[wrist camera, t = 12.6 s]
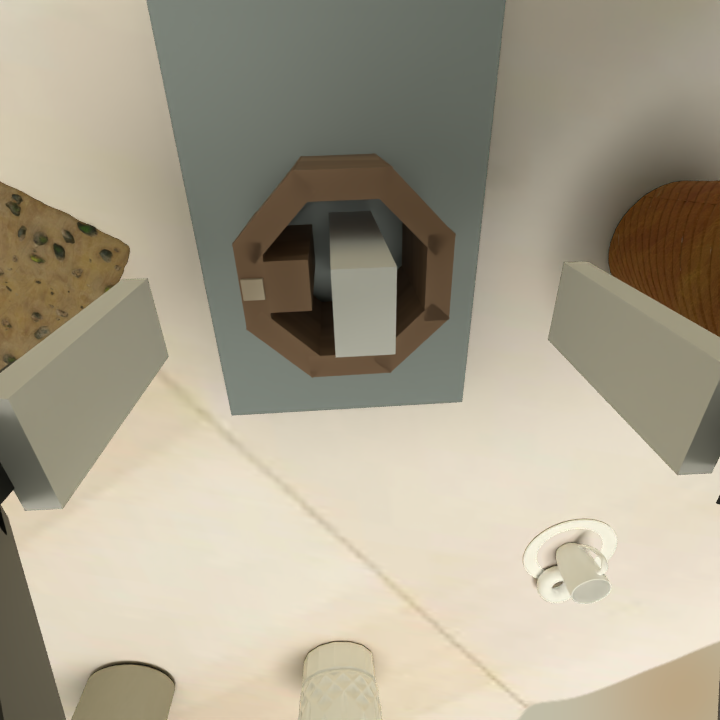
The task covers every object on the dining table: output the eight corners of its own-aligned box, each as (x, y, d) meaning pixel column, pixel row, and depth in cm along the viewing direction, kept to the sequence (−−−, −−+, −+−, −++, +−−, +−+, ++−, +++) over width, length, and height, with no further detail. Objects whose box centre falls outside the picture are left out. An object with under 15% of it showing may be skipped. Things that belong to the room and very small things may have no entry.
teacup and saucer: (552, 591, 41) (574, 637, 37) (494, 561, 38) (512, 607, 34) (631, 538, 38) (663, 582, 34) (575, 500, 35) (604, 544, 31)
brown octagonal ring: (426, 150, 20) (463, 163, 15) (419, 314, 24) (446, 371, 18) (247, 157, 20) (217, 173, 14) (270, 322, 24) (254, 383, 18)
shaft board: (495, -10, 18) (660, -135, 9) (455, 388, 28) (517, 519, 19) (156, -6, 18) (-23, -135, 9) (236, 401, 28) (191, 542, 18)
